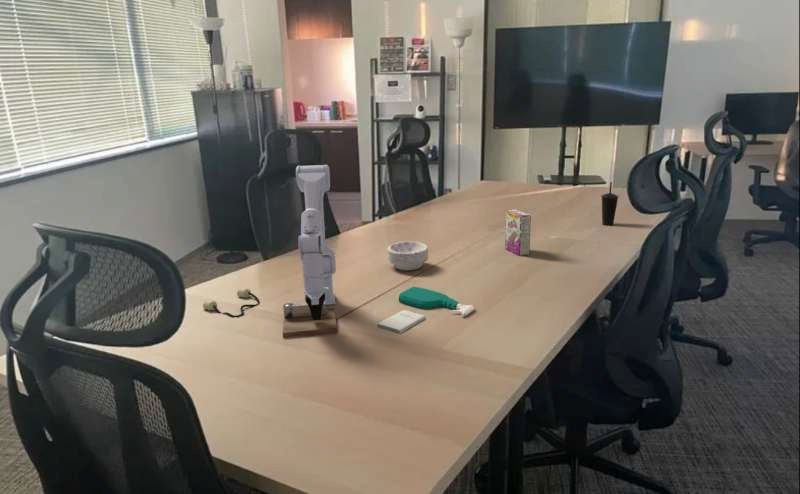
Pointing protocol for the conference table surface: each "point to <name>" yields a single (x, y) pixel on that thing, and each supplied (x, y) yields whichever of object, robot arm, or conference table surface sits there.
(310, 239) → the robot arm
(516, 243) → the candy bar box
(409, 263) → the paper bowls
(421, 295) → the spray bottle
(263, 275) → the conference table surface
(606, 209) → the drinking cup
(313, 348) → the conference table surface
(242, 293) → the cable
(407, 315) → the external hard drive
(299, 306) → the folding leg
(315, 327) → the stool seat
